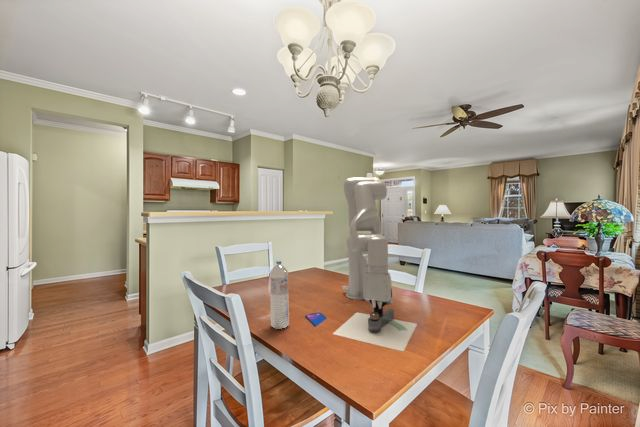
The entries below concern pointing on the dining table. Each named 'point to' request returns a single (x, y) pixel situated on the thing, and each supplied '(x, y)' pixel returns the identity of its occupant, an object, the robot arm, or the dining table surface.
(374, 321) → the grey lever handle
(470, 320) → the dining table surface
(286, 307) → the water bottle
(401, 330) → the dial plate
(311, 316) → the smartphone
